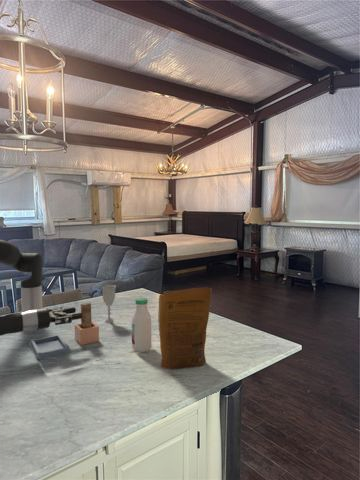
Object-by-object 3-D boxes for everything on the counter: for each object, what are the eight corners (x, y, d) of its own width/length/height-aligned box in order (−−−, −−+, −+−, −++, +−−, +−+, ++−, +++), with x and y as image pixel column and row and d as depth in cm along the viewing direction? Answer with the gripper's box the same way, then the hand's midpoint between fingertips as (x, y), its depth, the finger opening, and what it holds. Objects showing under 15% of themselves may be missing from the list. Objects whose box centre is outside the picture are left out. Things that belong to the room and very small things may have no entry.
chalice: (112, 326, 153) (112, 288, 151) (99, 325, 154) (98, 288, 153) (118, 321, 160) (118, 285, 158) (105, 320, 161) (105, 284, 160)
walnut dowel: (80, 339, 135) (79, 303, 134) (90, 336, 138) (89, 302, 136) (83, 342, 132) (82, 306, 131) (93, 340, 134) (92, 304, 133)
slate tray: (30, 346, 130) (30, 339, 130) (59, 340, 137) (59, 334, 136) (38, 361, 117) (38, 354, 117) (70, 354, 123) (69, 347, 123)
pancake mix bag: (213, 368, 113) (214, 288, 111) (158, 373, 110) (158, 291, 107) (207, 359, 120) (209, 284, 118) (156, 363, 116) (156, 286, 114)
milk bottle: (154, 346, 131) (154, 297, 129) (146, 354, 124) (146, 302, 122) (137, 343, 134) (137, 295, 132) (128, 351, 127) (127, 300, 125)
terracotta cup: (74, 340, 136) (74, 324, 135) (92, 337, 140) (92, 321, 140) (80, 347, 130) (80, 330, 129) (99, 343, 134) (98, 326, 133)
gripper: (38, 315, 117) (83, 307, 126) (31, 305, 129) (73, 299, 138) (39, 335, 117) (84, 326, 126) (32, 323, 129) (73, 316, 138)
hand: (78, 312), depth 132 cm, fingers open, 8 cm apart
